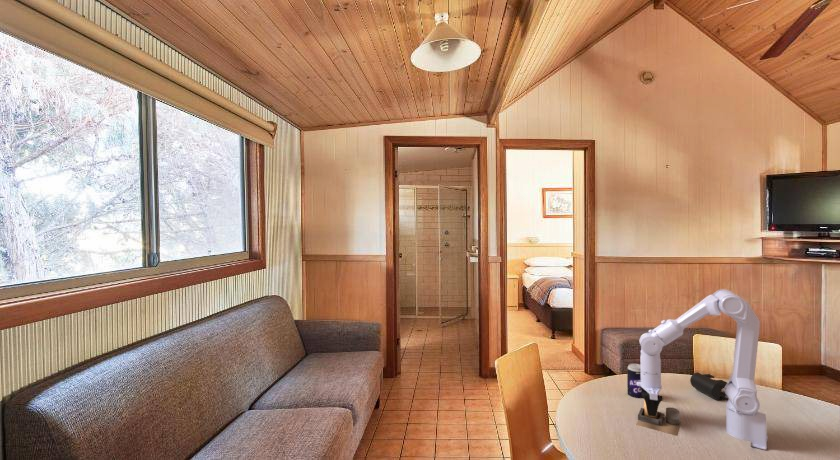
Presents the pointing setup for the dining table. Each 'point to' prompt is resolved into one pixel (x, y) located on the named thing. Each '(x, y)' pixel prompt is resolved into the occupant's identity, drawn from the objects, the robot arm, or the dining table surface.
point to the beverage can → (634, 380)
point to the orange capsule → (647, 412)
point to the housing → (661, 421)
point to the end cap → (709, 386)
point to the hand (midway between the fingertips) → (651, 412)
